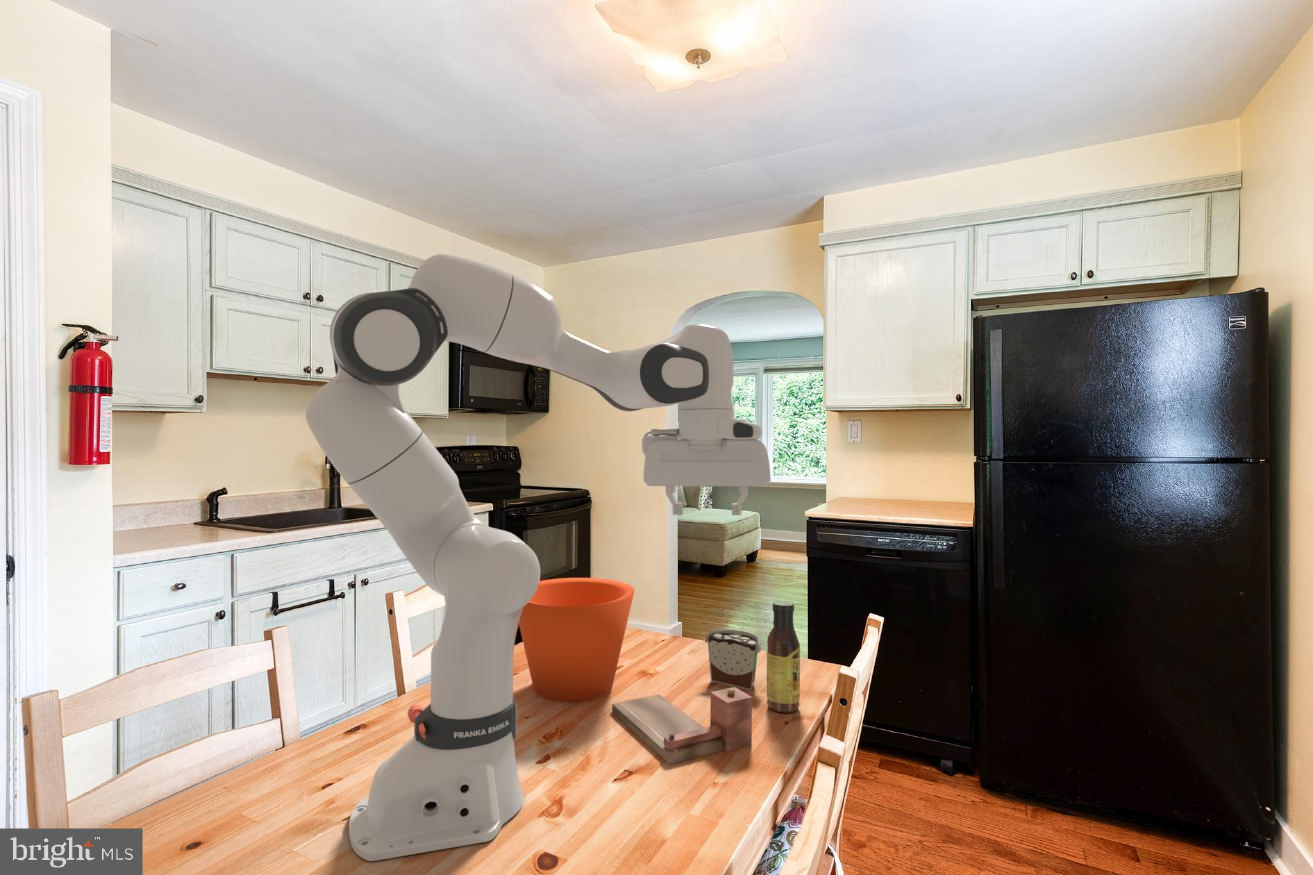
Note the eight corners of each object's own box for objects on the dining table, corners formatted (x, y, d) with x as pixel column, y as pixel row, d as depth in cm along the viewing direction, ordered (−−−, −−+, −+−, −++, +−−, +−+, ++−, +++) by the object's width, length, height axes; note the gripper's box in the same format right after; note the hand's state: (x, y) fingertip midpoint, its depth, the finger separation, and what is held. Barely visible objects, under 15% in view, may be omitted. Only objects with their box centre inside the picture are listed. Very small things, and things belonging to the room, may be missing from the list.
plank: (669, 764, 101) (669, 754, 101) (612, 711, 120) (612, 703, 120) (722, 750, 106) (722, 740, 106) (659, 701, 125) (659, 693, 125)
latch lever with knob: (674, 765, 101) (674, 709, 101) (658, 751, 105) (659, 697, 105) (751, 744, 108) (751, 692, 108) (734, 732, 112) (734, 682, 112)
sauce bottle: (800, 715, 119) (800, 608, 119) (765, 712, 120) (766, 606, 121) (799, 701, 126) (800, 600, 126) (767, 699, 127) (767, 598, 127)
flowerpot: (602, 720, 117) (603, 611, 117) (486, 700, 125) (487, 599, 125) (651, 674, 140) (651, 583, 140) (550, 659, 149) (550, 574, 149)
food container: (770, 682, 136) (770, 635, 136) (758, 692, 130) (758, 642, 130) (717, 671, 142) (718, 625, 142) (704, 679, 137) (705, 632, 137)
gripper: (638, 428, 101) (639, 516, 101) (770, 427, 98) (771, 517, 98) (645, 429, 107) (646, 511, 107) (769, 427, 104) (770, 512, 105)
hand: (707, 514), depth 103 cm, fingers open, 8 cm apart
